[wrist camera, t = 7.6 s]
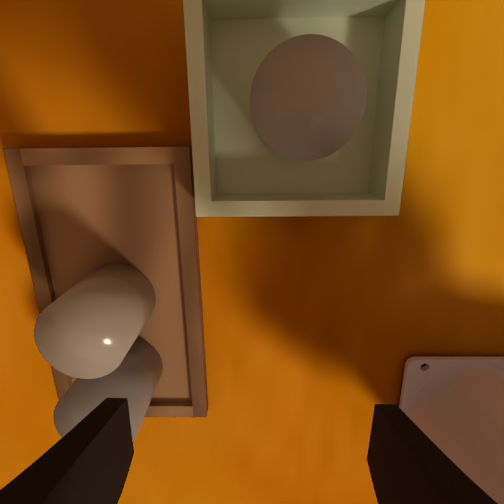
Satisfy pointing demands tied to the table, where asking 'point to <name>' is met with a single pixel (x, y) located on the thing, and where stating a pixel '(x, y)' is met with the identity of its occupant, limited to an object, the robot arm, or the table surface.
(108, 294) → the stone mid
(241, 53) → the bin
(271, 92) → the stone front
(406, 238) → the table surface
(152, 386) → the stone back
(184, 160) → the shallow brown tray
